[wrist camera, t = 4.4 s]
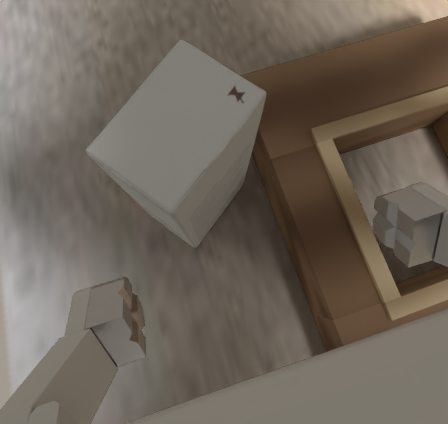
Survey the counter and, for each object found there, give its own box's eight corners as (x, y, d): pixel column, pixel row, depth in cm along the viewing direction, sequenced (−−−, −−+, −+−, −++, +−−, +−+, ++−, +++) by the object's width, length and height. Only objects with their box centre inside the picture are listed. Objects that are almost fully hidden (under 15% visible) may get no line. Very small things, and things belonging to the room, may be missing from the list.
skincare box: (197, 151, 25) (182, 31, 13) (244, 184, 24) (273, 90, 12) (146, 216, 23) (78, 149, 12) (194, 252, 23) (174, 219, 11)
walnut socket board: (585, 311, 23) (669, 318, 19) (347, 406, 21) (380, 437, 17) (442, 46, 27) (484, 3, 23) (234, 108, 25) (238, 73, 21)
